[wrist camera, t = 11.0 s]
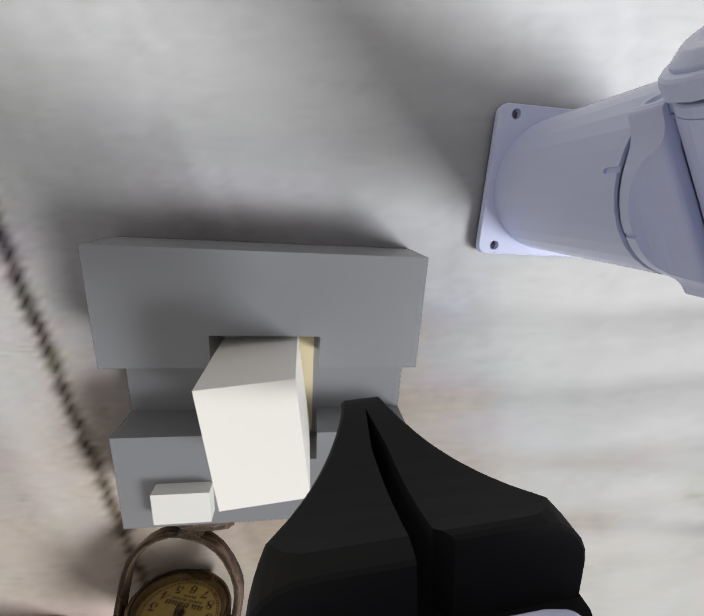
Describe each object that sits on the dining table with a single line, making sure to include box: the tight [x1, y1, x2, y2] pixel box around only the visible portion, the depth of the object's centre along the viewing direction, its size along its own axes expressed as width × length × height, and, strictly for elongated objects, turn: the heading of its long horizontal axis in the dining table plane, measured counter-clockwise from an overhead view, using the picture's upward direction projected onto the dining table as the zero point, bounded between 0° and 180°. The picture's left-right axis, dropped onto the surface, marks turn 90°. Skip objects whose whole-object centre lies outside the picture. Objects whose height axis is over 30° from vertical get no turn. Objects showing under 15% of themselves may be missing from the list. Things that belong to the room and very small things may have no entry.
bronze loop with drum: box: [113, 522, 244, 616], centre depth 22 cm, size 7×13×10 cm
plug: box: [192, 336, 310, 512], centre depth 18 cm, size 4×6×6 cm, turn 4°
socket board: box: [77, 237, 428, 529], centre depth 20 cm, size 16×16×4 cm
